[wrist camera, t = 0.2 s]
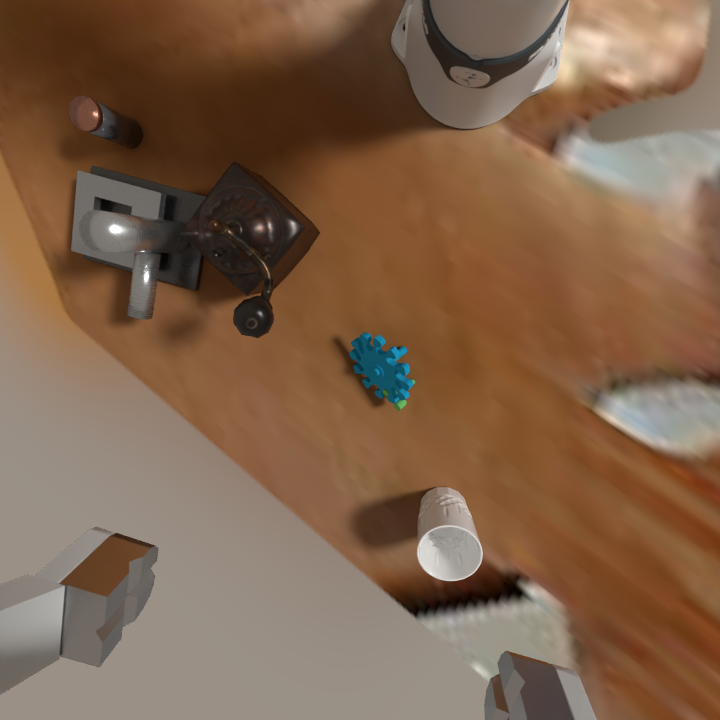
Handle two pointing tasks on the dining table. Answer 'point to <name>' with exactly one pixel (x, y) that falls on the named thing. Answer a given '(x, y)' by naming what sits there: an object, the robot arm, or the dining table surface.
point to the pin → (104, 122)
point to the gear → (382, 369)
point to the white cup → (447, 536)
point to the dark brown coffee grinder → (250, 241)
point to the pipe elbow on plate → (136, 232)
